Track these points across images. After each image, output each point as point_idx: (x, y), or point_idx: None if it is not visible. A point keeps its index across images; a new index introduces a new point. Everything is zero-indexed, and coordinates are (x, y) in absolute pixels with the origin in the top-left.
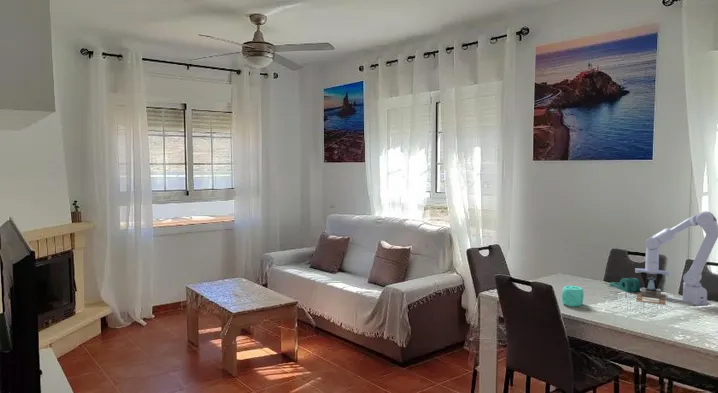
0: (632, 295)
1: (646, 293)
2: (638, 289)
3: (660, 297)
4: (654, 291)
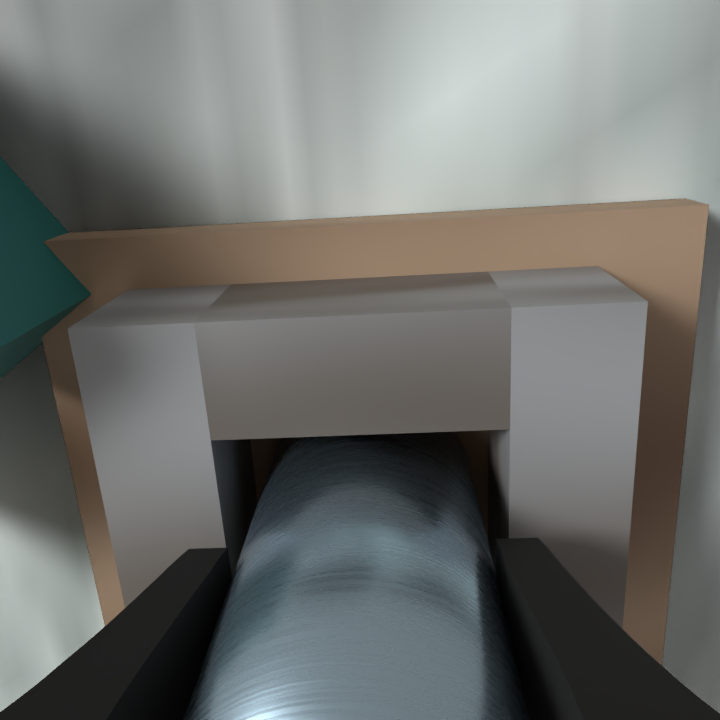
0: (18, 520)
1: None
2: (27, 338)
3: None
4: None
